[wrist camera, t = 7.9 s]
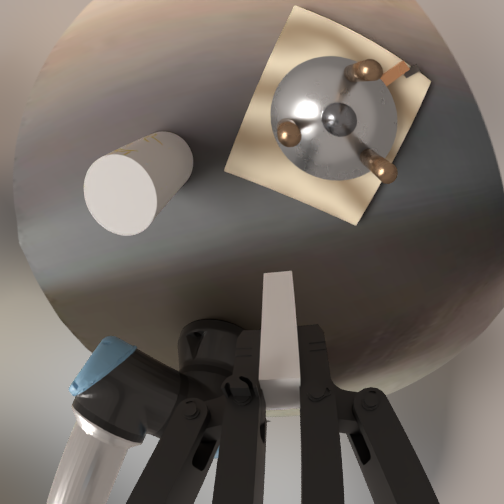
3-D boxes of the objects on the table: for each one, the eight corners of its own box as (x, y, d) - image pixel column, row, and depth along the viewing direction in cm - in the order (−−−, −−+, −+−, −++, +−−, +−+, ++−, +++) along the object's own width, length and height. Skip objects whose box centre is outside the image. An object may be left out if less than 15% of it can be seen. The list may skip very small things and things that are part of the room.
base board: (353, 220, 35) (356, 226, 34) (225, 167, 33) (223, 171, 31) (427, 77, 23) (434, 77, 22) (295, 5, 21) (296, 0, 19)
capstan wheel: (433, 113, 24) (470, 123, 18) (326, 198, 32) (339, 228, 25) (362, 18, 19) (387, 0, 13) (243, 112, 27) (234, 118, 21)
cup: (171, 119, 30) (123, 136, 19) (205, 172, 33) (174, 211, 23) (125, 153, 32) (71, 185, 22) (157, 201, 36) (116, 247, 26)
